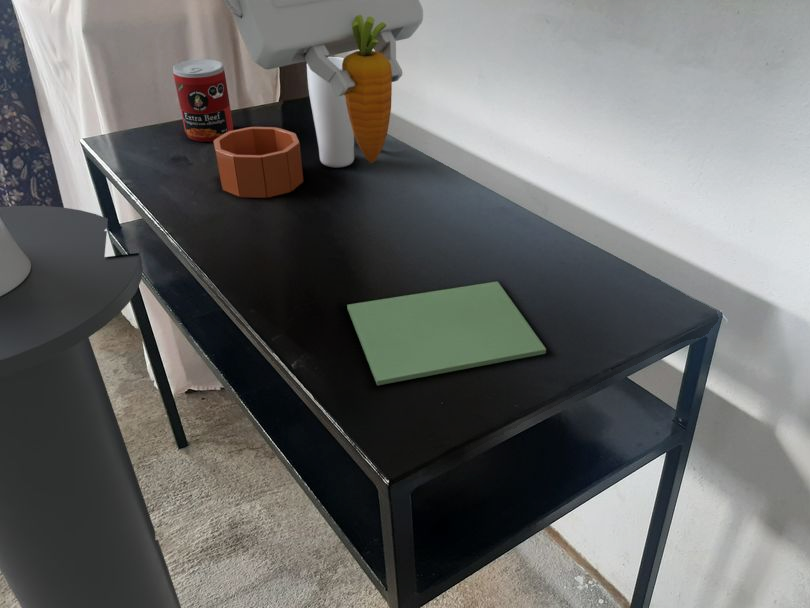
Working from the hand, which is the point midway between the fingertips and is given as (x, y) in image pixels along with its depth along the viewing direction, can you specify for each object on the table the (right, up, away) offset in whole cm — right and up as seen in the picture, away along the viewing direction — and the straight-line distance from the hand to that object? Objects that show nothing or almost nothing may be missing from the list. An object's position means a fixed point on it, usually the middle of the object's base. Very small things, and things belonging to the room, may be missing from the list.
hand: (372, 85), depth 73 cm
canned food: (-33, +9, +48) cm, 59 cm away
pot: (-21, -2, +34) cm, 40 cm away
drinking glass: (-11, +2, +40) cm, 42 cm away
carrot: (-1, -7, +6) cm, 9 cm away
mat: (+7, -25, +5) cm, 26 cm away
